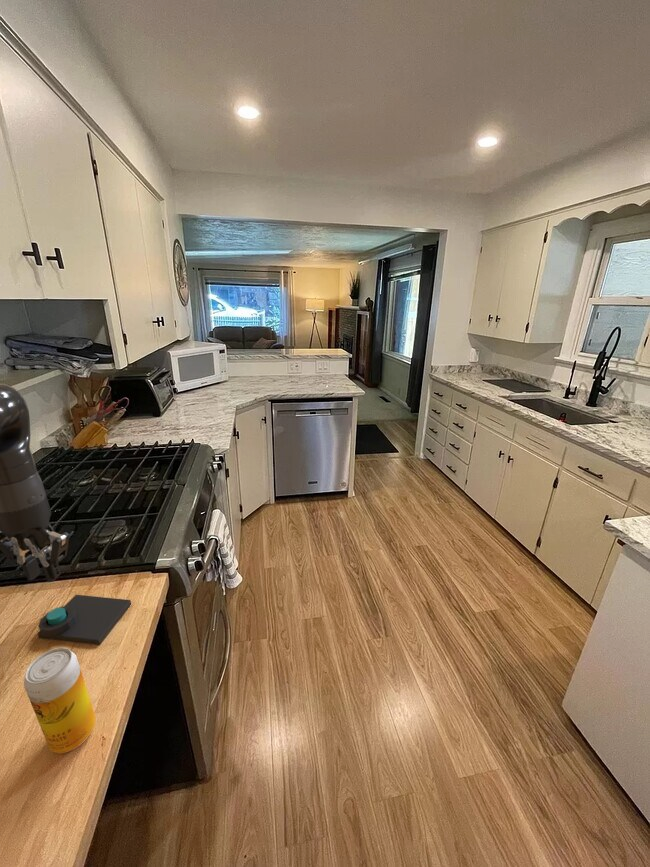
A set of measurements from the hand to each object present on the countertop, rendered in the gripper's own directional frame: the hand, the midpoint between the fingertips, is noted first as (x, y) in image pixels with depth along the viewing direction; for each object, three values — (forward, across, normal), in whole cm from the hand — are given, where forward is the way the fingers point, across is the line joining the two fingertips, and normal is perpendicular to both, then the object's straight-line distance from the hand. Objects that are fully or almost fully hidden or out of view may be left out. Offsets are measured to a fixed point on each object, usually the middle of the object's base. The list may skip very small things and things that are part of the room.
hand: (44, 577), depth 68 cm
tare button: (+11, 0, 0) cm, 11 cm away
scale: (+13, -4, -2) cm, 14 cm away
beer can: (+13, -17, +17) cm, 28 cm away
